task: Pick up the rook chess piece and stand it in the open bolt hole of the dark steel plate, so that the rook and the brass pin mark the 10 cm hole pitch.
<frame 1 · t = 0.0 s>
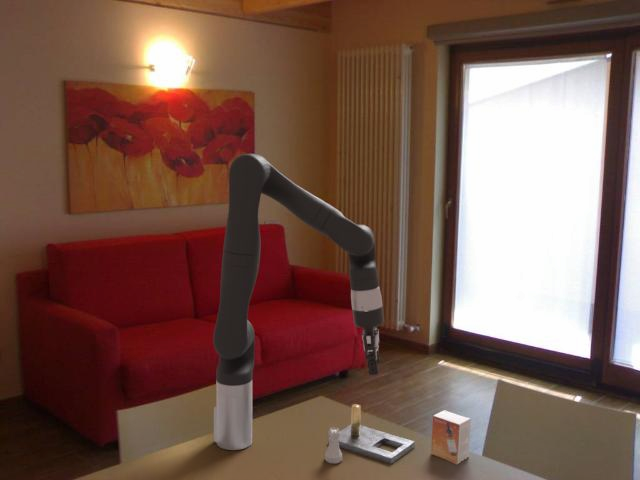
hand: (374, 368, 172), 22 cm above the table, tool pointing down, fingers open, 8 cm apart
small box: (449, 456, 175), on the table
bolt plate: (371, 445, 180), on the table
rook chess piece: (333, 460, 171), on the table
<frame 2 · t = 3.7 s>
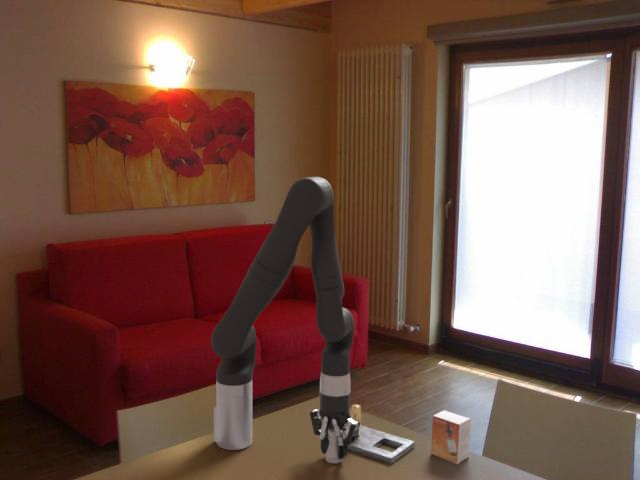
hand: (333, 455, 171), 1 cm above the table, tool pointing down, fingers closed on rook chess piece, 4 cm apart
rook chess piece: (333, 460, 171), on the table, touching gripper
everything else where it was.
when the fingers open (2 cm above the table, at t = 9.3 s): rook chess piece stays where it is, resting in bolt plate.
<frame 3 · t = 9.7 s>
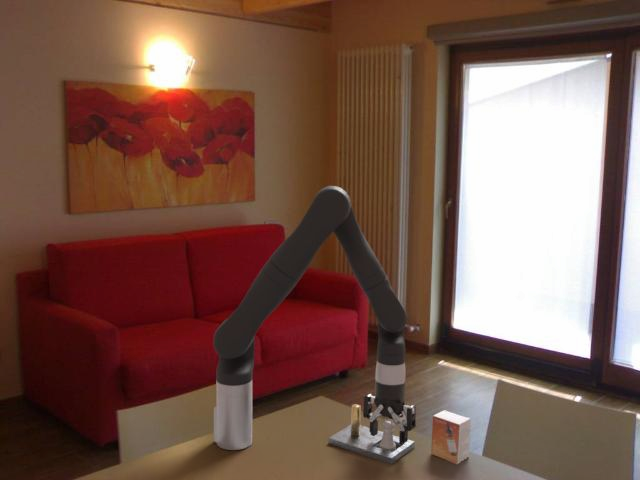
hand: (388, 439, 177), 3 cm above the table, tool pointing down, fingers open, 8 cm apart
rook chess piece: (387, 451, 177), resting in bolt plate
everything else where it was.
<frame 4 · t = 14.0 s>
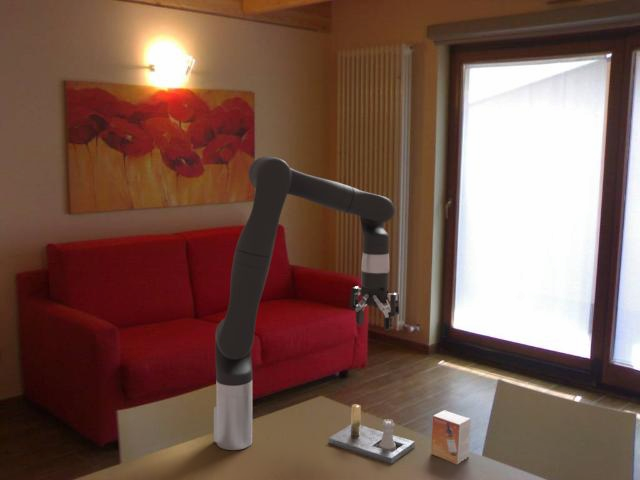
hand: (373, 327, 189), 28 cm above the table, tool pointing down, fingers open, 8 cm apart
nothing on the table moved.
at the end: rook chess piece 0.1 cm from the target spot on the bolt plate, point 0.0 cm above the bolt plate's base; rook chess piece tilted 0°; the gripper is holding nothing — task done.
